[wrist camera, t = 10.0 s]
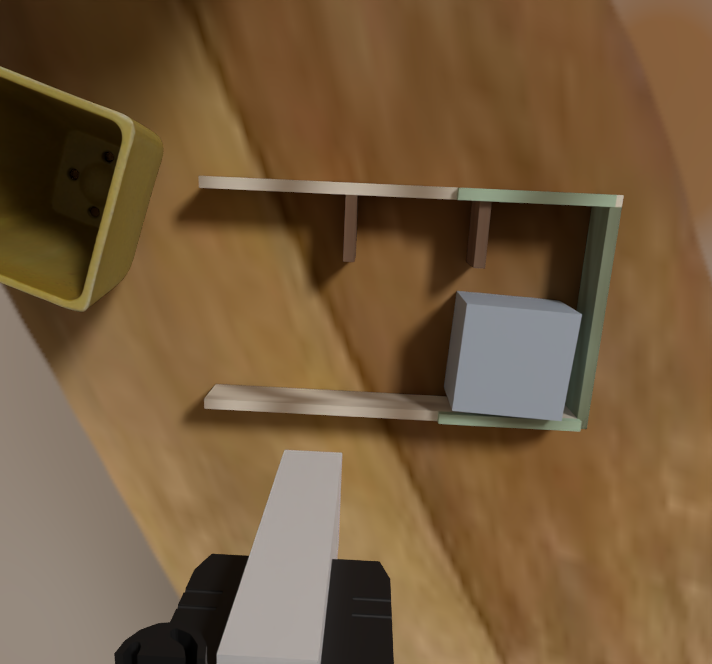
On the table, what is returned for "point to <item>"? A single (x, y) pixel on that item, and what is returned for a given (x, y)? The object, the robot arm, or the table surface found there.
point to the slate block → (510, 355)
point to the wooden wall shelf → (591, 285)
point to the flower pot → (69, 192)
